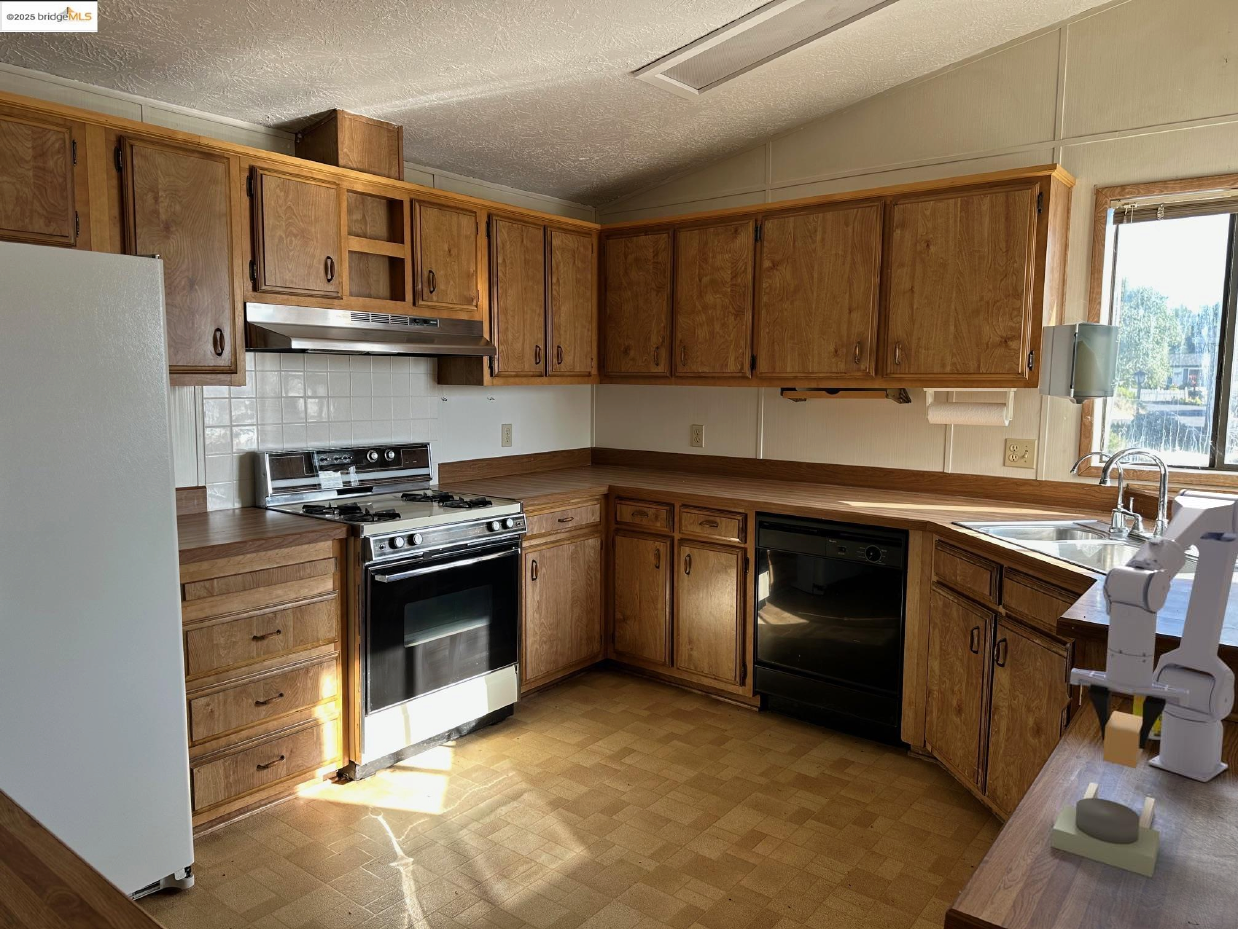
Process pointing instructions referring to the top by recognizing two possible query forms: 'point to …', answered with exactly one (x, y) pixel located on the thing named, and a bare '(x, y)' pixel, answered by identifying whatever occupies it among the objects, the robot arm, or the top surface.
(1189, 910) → the top surface
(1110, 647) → the robot arm
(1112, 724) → the chute block
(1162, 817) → the top surface
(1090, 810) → the green base with dome
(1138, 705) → the supplement bottle
